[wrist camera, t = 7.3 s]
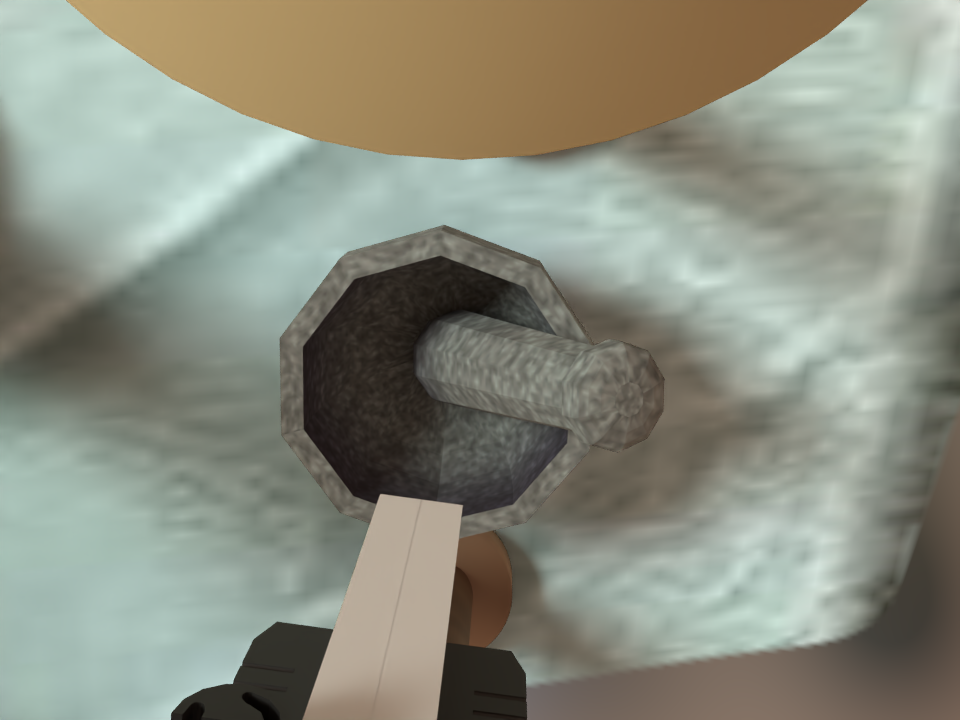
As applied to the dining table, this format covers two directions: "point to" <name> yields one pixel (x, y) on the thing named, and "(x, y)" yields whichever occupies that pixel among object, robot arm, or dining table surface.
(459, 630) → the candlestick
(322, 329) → the mortar and pestle
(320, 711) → the robot arm
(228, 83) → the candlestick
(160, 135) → the dining table surface
